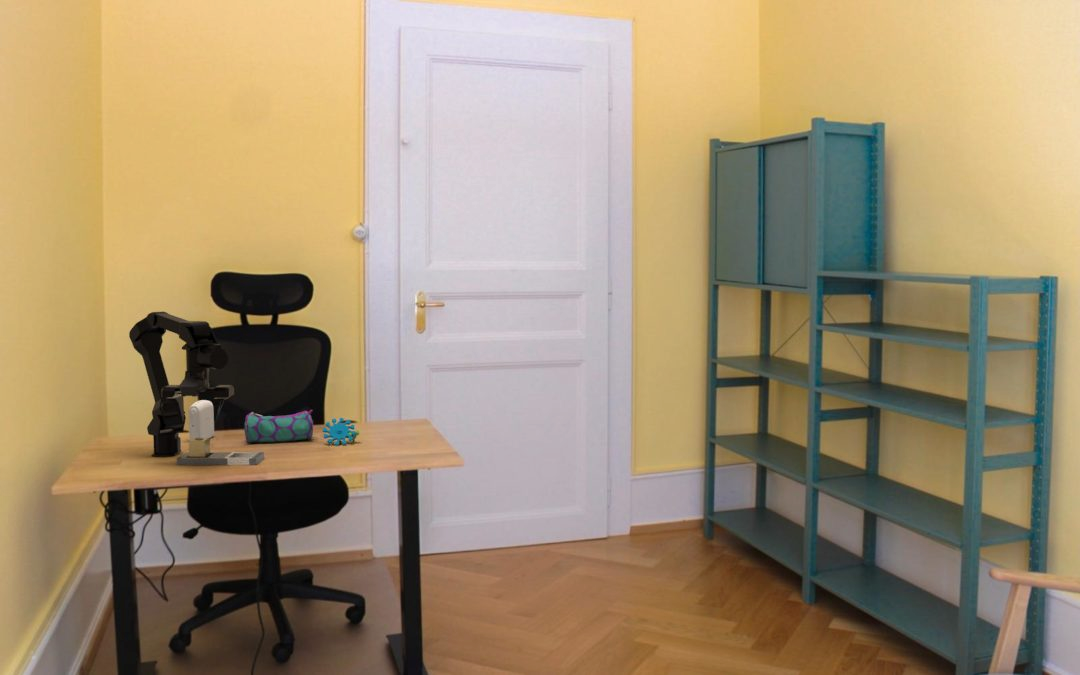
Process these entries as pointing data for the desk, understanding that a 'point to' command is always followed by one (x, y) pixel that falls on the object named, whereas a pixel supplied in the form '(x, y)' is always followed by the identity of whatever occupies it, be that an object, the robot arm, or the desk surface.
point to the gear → (340, 432)
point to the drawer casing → (223, 458)
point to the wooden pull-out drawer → (199, 448)
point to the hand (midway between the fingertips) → (198, 421)
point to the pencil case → (278, 427)
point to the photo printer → (201, 420)
